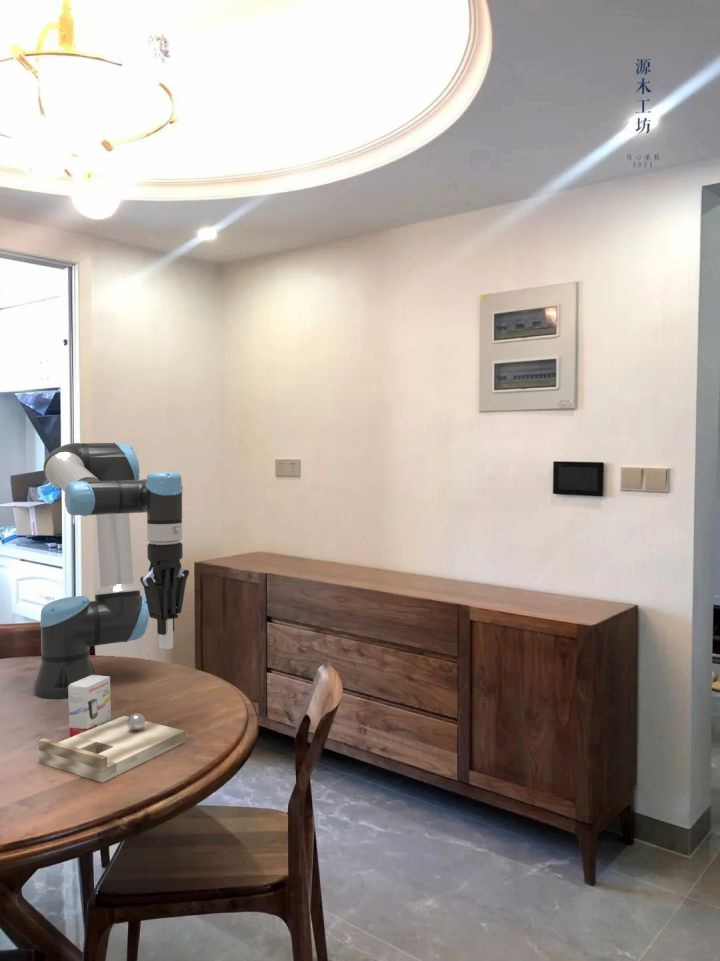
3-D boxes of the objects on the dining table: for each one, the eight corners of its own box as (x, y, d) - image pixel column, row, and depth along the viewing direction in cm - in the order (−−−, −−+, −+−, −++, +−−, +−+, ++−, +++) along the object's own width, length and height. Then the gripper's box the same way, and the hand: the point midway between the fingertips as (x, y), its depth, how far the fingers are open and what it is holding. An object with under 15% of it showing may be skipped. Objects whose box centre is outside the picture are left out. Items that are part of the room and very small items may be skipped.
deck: (39, 762, 147) (38, 740, 147) (124, 726, 166) (124, 706, 166) (102, 782, 138) (102, 758, 138) (184, 742, 158) (184, 721, 157)
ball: (123, 731, 157) (123, 715, 157) (136, 726, 160) (136, 709, 160) (135, 735, 155) (135, 718, 155) (148, 729, 158) (148, 712, 158)
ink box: (87, 742, 158) (86, 687, 157) (67, 739, 159) (66, 685, 159) (112, 727, 166) (112, 675, 165) (93, 725, 167) (92, 673, 167)
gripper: (155, 546, 156) (157, 657, 157) (198, 540, 168) (199, 643, 169) (130, 544, 160) (131, 652, 161) (173, 538, 171) (174, 639, 172)
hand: (166, 647), depth 165 cm, fingers closed
